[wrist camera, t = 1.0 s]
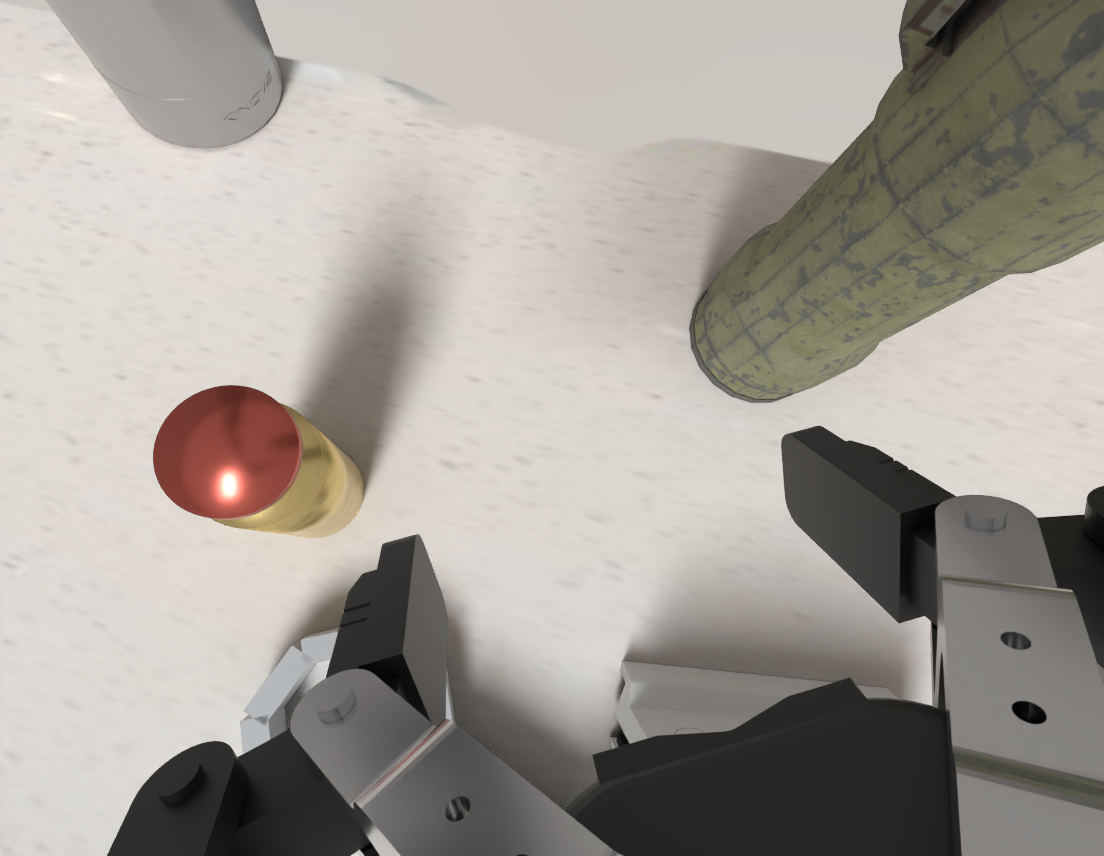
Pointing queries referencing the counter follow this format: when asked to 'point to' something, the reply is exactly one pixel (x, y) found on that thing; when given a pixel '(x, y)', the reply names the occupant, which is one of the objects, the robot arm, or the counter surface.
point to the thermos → (923, 196)
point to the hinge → (700, 699)
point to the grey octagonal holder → (293, 689)
